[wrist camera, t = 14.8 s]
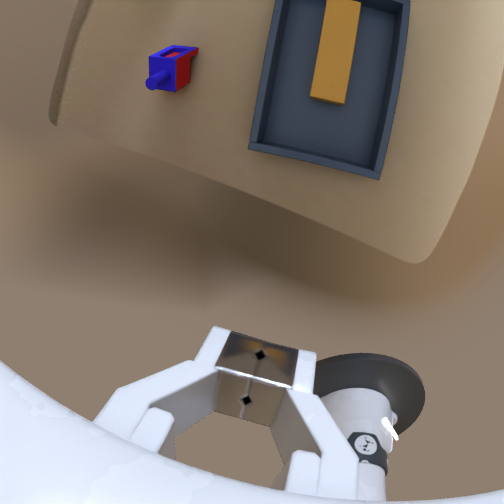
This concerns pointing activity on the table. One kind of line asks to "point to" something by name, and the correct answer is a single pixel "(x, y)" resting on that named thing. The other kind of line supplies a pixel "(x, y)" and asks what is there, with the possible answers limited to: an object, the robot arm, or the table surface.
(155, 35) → the table surface
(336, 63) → the wooden stick
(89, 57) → the table surface
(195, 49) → the toy building block
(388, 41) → the bin
